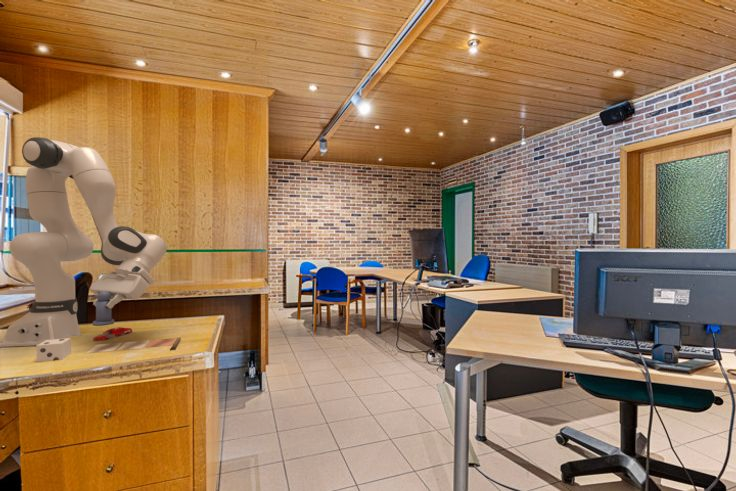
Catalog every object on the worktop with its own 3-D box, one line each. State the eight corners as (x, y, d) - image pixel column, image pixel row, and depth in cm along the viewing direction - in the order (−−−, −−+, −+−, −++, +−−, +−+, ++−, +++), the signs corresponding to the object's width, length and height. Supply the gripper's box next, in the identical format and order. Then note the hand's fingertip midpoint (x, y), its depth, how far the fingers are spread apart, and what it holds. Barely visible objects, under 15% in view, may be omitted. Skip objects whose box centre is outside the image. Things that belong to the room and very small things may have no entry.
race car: (100, 345, 122) (99, 334, 122) (88, 344, 124) (88, 333, 124) (135, 335, 135) (135, 325, 135) (124, 334, 137) (124, 324, 137)
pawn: (89, 326, 112) (90, 292, 112) (96, 322, 117) (96, 290, 117) (111, 325, 114) (111, 292, 114) (116, 321, 119) (116, 289, 119)
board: (79, 358, 108) (79, 354, 108) (93, 347, 120) (93, 344, 120) (175, 349, 117) (175, 346, 117) (180, 339, 129) (180, 336, 129)
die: (36, 366, 102) (36, 345, 102) (47, 359, 108) (46, 339, 108) (62, 363, 104) (61, 343, 104) (71, 357, 110) (71, 337, 110)
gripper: (103, 266, 125) (72, 298, 116) (146, 269, 118) (116, 303, 109) (116, 277, 129) (87, 309, 120) (158, 281, 123) (130, 314, 114)
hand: (101, 306), depth 115 cm, fingers closed on pawn, 4 cm apart
